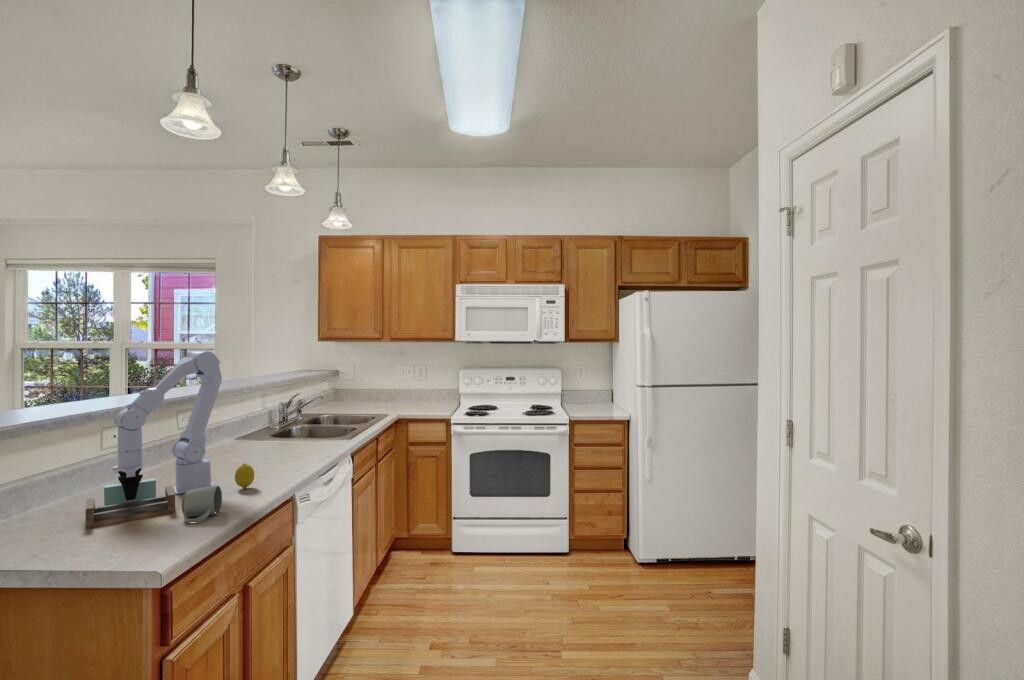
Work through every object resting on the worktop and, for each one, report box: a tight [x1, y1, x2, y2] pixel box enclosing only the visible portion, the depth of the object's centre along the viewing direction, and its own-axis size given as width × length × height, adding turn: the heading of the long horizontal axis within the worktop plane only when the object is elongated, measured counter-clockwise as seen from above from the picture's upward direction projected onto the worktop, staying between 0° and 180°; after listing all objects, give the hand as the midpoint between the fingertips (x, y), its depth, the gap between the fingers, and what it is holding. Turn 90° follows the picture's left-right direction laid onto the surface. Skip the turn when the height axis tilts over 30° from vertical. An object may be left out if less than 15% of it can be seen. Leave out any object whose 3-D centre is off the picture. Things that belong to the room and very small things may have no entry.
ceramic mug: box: [181, 485, 223, 524], centre depth 136 cm, size 11×8×8 cm
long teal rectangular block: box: [103, 477, 157, 506], centre depth 148 cm, size 12×3×6 cm, turn 128°
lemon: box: [234, 463, 255, 489], centre depth 161 cm, size 6×6×8 cm
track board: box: [85, 485, 176, 529], centre depth 138 cm, size 19×10×5 cm, turn 128°
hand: (130, 496), depth 148 cm, fingers open, 7 cm apart
